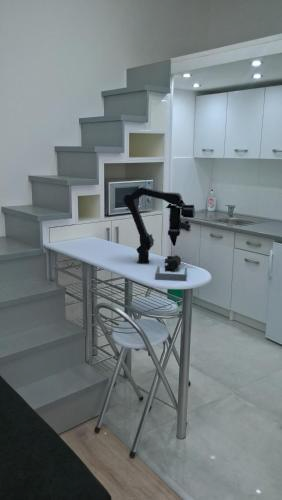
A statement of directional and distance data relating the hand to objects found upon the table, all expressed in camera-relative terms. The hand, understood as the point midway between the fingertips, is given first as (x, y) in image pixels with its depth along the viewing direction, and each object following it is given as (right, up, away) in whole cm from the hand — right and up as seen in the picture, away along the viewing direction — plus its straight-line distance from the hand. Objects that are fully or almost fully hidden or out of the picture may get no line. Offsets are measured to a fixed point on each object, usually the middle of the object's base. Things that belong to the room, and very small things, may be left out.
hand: (174, 245), depth 232 cm
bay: (-3, -16, -19) cm, 25 cm away
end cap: (-1, -13, -6) cm, 14 cm away
